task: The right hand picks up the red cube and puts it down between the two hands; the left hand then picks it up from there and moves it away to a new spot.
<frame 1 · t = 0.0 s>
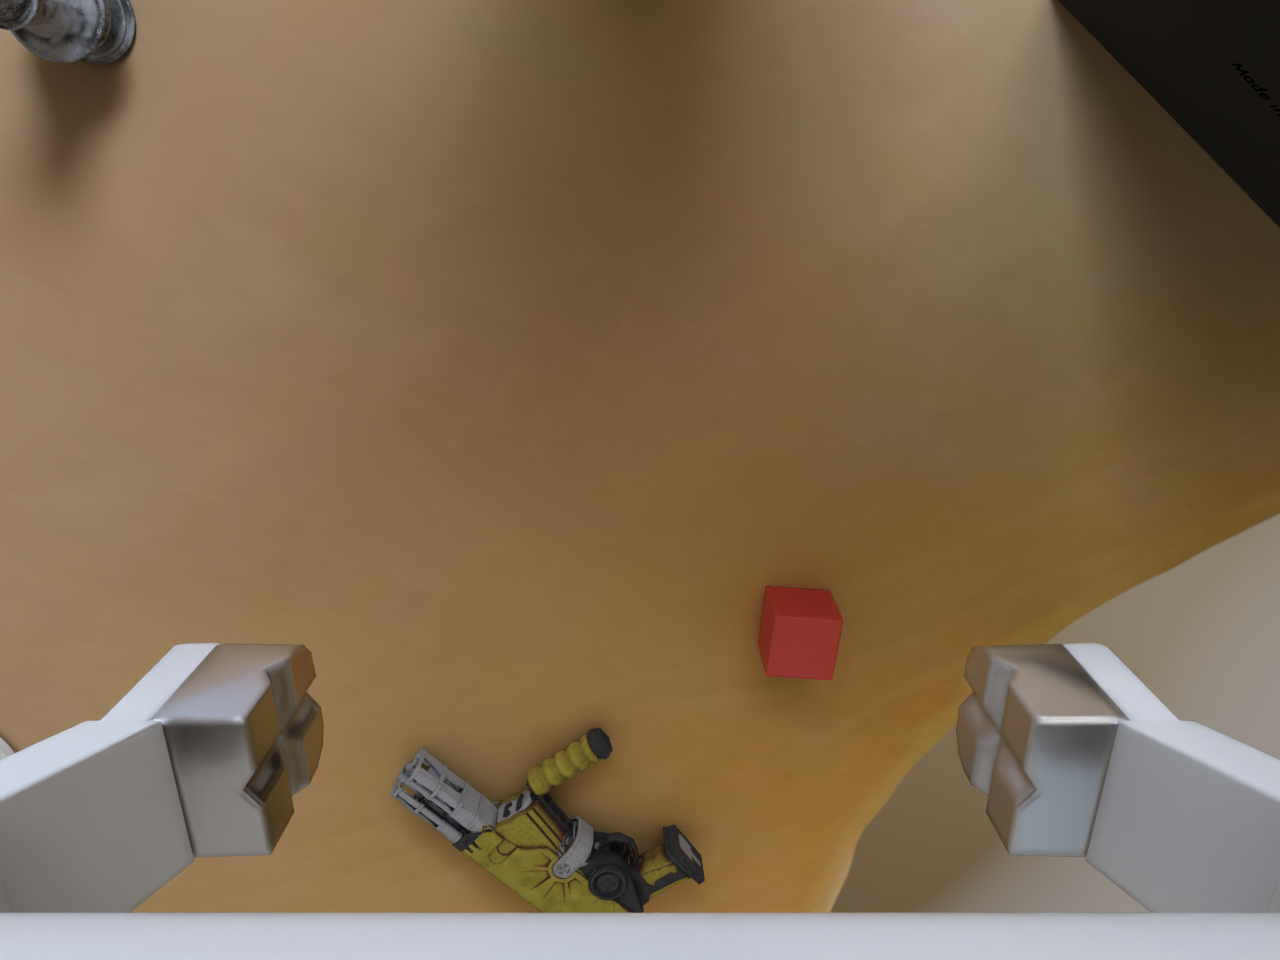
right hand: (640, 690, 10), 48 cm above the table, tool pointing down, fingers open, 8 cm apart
toy gun: (567, 795, 71), on the table
red cube: (793, 617, 65), on the table
salt shaker: (92, 16, 50), on the table
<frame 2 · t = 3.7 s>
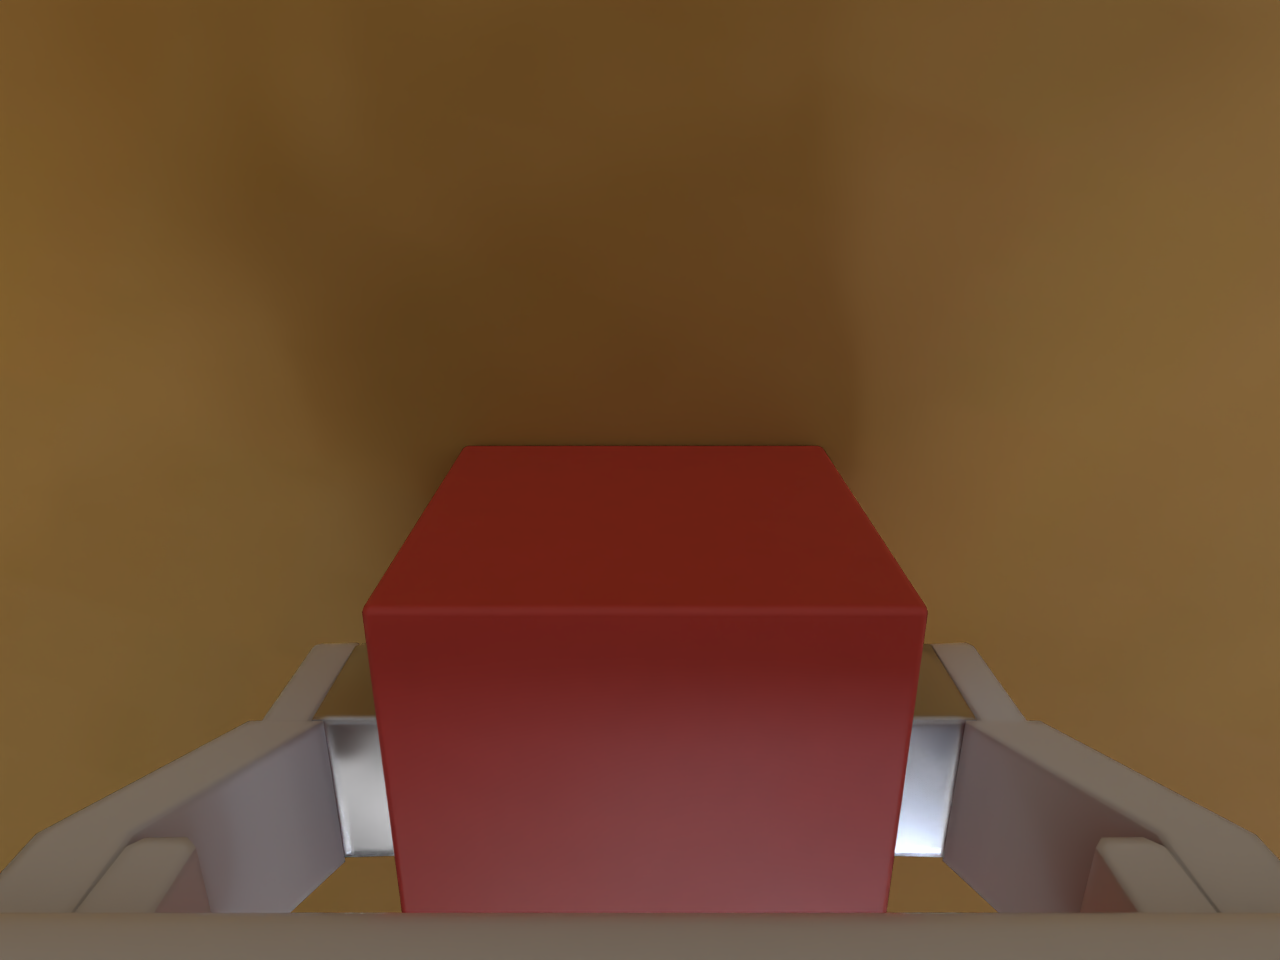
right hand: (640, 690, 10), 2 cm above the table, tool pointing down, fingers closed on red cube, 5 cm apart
red cube: (642, 608, 12), on the table, touching right hand
when the right hand's fingers open (3 cm above the table, at t = 13.6 s): red cube stays where it is, on the table.
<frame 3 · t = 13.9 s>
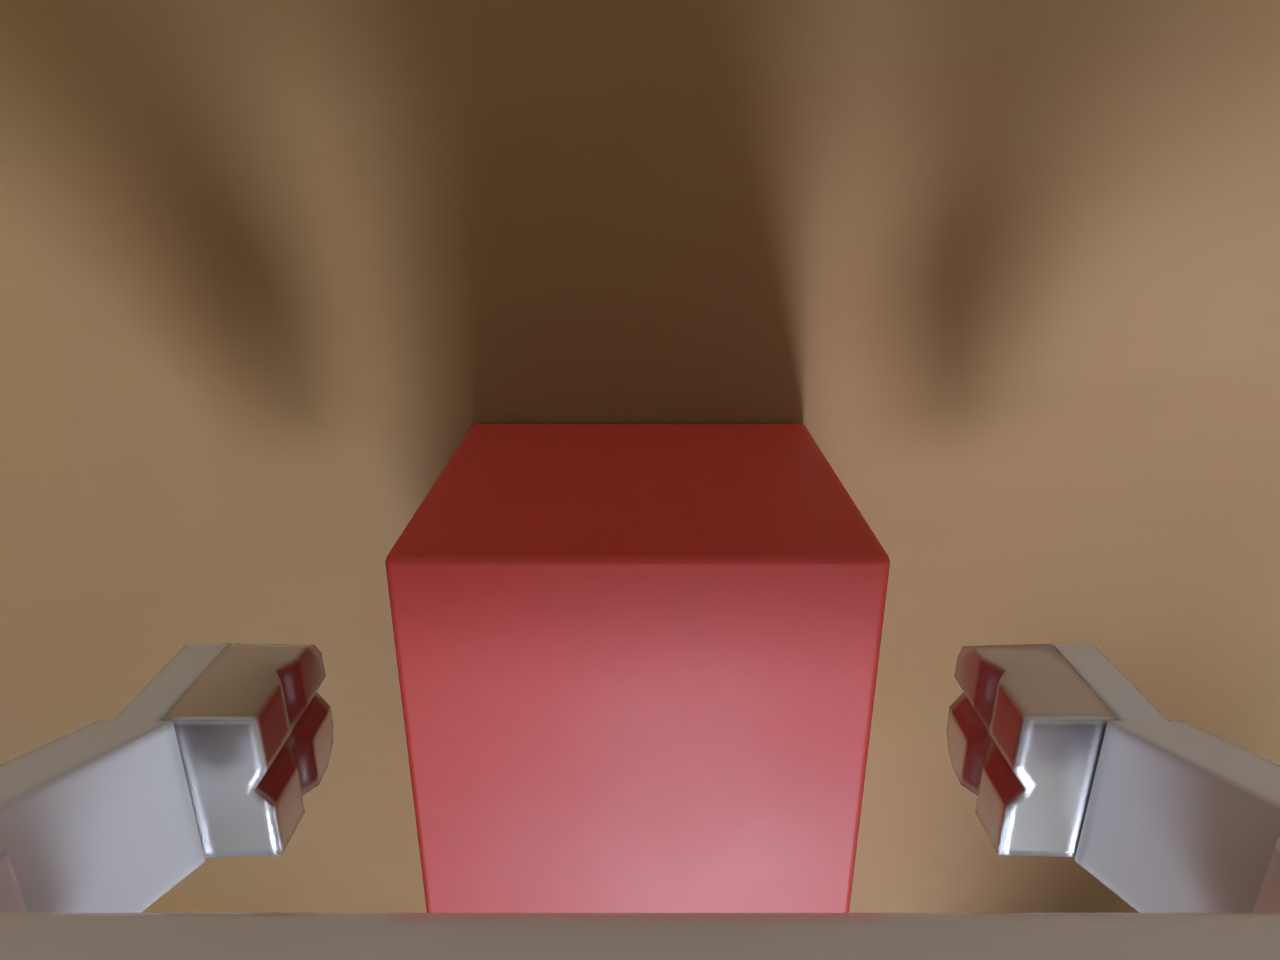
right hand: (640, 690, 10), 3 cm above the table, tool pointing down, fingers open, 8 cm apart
red cube: (638, 576, 13), on the table
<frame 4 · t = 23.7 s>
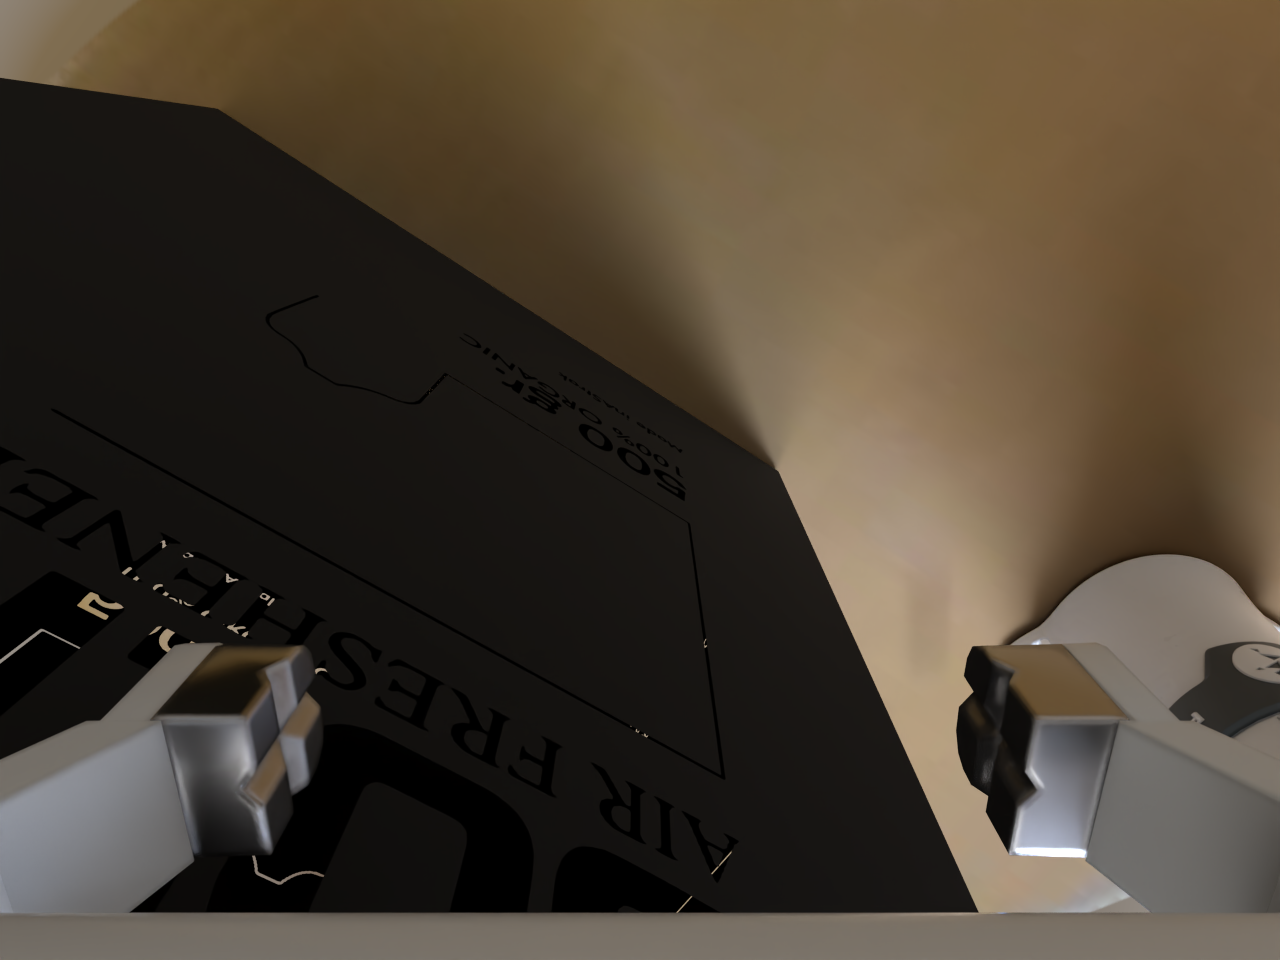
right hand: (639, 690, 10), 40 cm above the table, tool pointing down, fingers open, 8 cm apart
cardboard box: (435, 440, 52), on the table
when the left hand's fingers open (2 cm above the table, at t = 36.5 s): red cube stays where it is, on the table.
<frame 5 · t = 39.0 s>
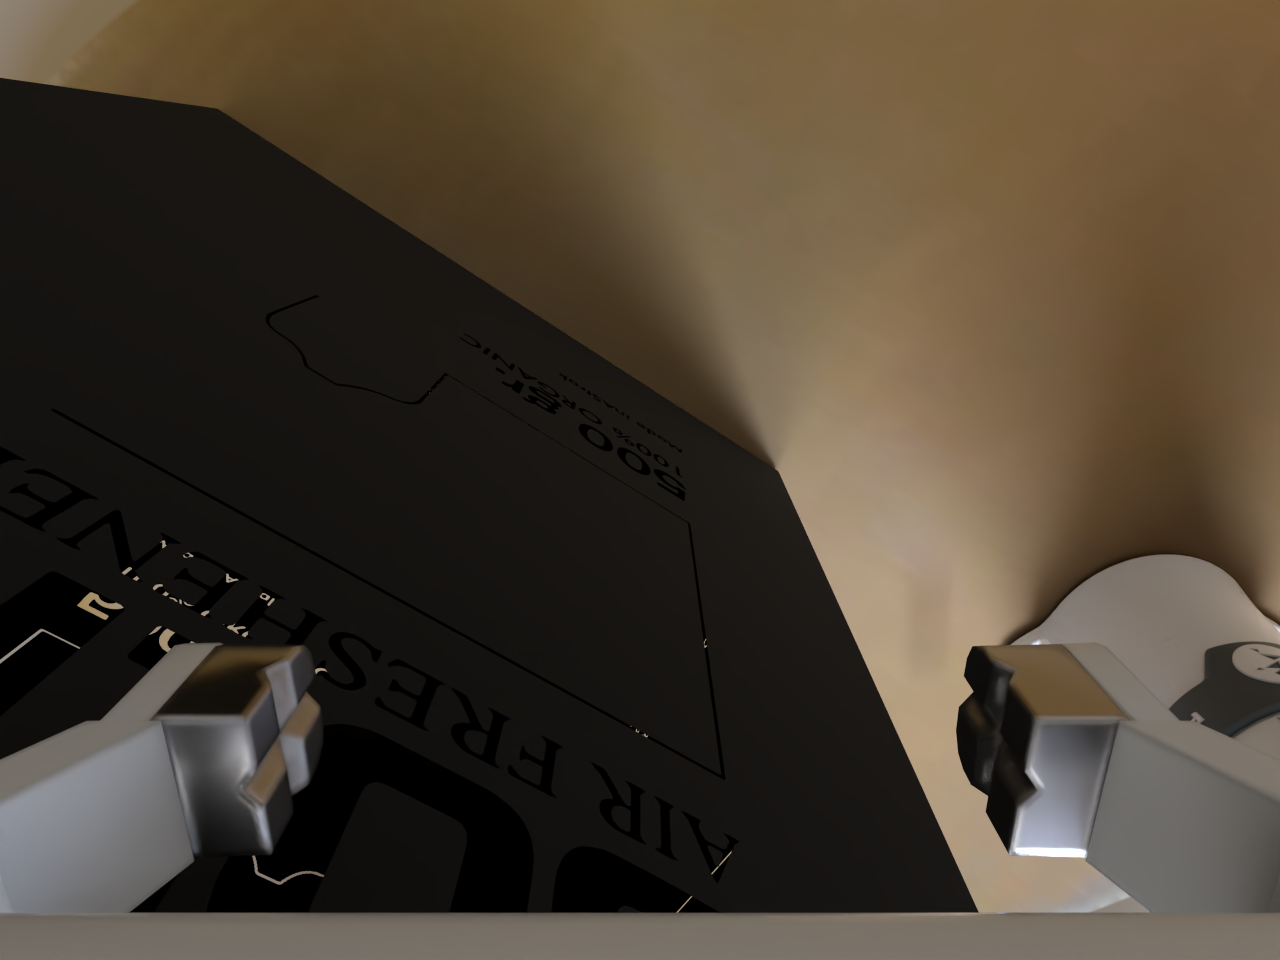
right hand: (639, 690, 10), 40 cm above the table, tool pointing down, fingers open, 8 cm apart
cardboard box: (435, 440, 52), on the table
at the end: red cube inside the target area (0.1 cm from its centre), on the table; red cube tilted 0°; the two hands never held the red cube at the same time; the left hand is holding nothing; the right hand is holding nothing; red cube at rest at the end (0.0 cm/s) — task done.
